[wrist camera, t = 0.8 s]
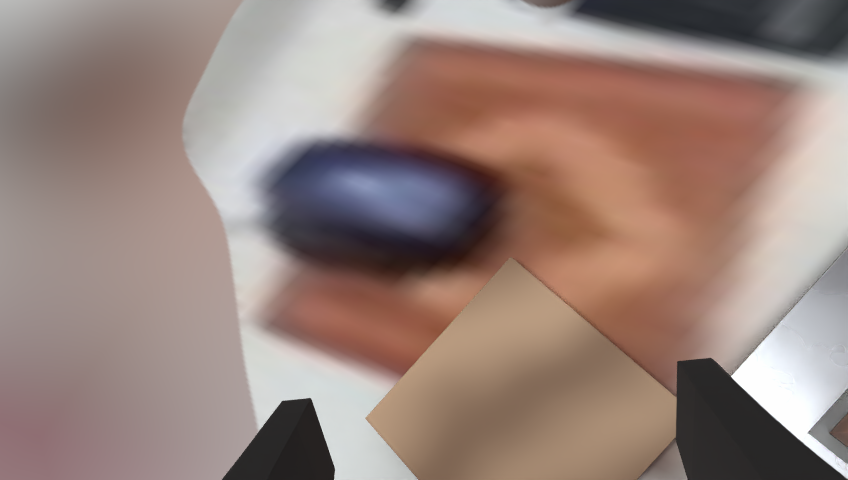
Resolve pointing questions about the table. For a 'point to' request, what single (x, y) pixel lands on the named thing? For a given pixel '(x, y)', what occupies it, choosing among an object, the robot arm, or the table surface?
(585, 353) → the walnut pad
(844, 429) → the pinkish brown rectangular block
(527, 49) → the table surface
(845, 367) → the socket plate
